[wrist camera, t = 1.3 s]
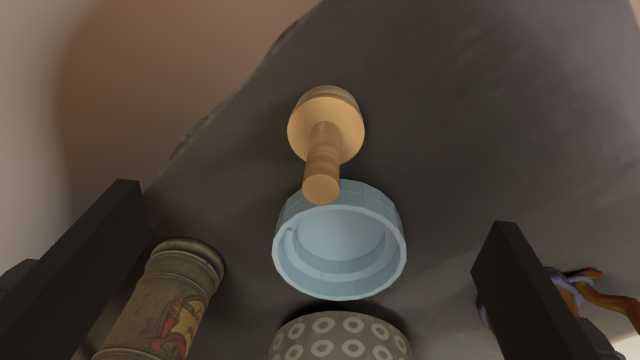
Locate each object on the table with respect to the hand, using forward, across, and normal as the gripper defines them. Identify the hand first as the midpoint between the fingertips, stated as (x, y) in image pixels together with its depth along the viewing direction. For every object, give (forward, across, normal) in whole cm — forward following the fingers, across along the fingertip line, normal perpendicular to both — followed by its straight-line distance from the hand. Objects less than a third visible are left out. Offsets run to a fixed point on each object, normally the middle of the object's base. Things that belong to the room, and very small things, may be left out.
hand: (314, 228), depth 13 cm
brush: (+20, 0, -4) cm, 20 cm away
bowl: (+20, +3, -16) cm, 26 cm away
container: (+20, -15, -25) cm, 35 cm away
